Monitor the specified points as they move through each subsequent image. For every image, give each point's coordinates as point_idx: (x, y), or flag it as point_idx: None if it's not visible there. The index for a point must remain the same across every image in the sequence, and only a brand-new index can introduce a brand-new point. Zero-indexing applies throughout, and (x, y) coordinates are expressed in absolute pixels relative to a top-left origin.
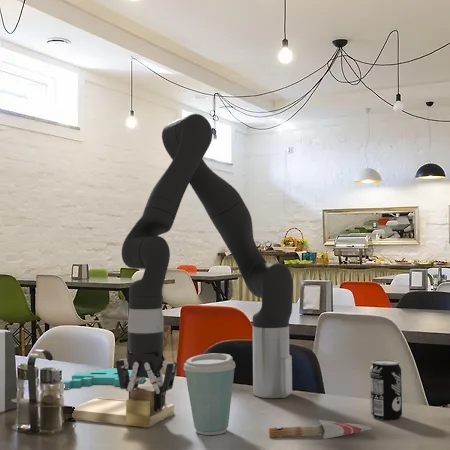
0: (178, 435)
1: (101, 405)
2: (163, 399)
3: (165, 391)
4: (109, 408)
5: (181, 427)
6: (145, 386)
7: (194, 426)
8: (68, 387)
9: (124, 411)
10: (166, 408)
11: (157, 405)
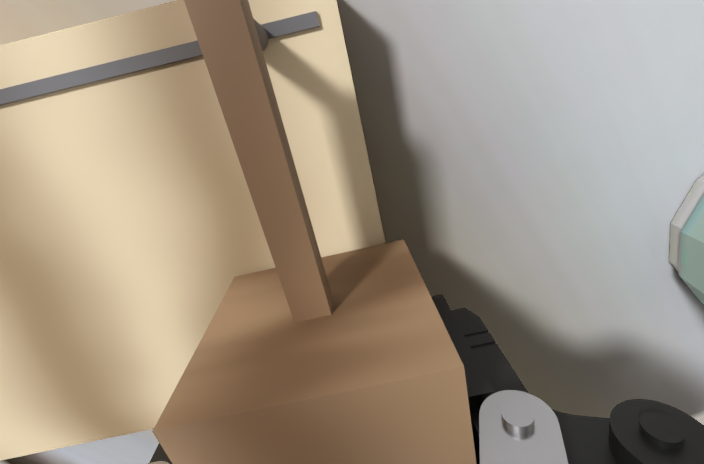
0: (606, 349)
1: None
2: (501, 357)
3: (244, 9)
4: (27, 358)
5: (561, 247)
6: (227, 430)
7: (685, 281)
8: None
9: (179, 359)
10: (362, 134)
11: None
